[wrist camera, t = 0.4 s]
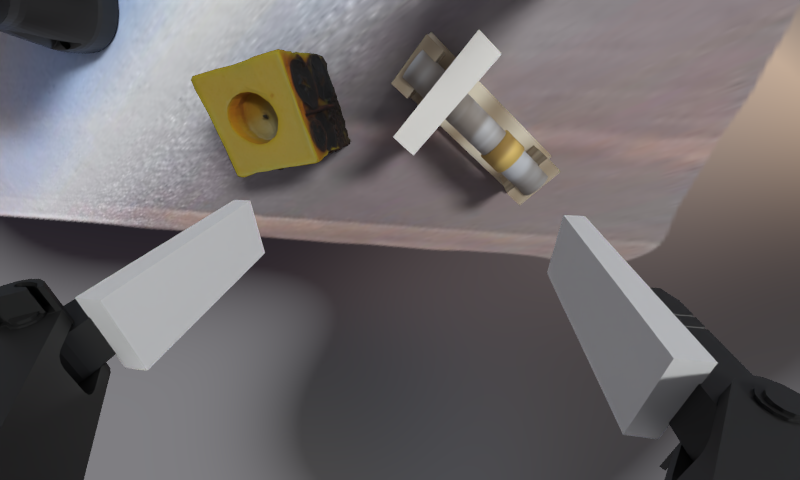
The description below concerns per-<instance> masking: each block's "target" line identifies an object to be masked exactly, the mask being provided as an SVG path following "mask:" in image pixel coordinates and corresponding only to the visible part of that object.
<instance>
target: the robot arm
mask: <svg viewBox="0 0 800 480" xmlns="http://www.w3.org/2000/svg"><path fill="white" fill-rule="evenodd" d="M117 23H118V2H117V0H0V31H1V32H3V33H6V34H9V35H12V36H15V37H18V38H21V39H24V40H27V41H30V42H33V43H36V44H39V45H42V46H45V47H48V48H51V49H54V50H58V51H62V52H71V53H94V52H98V51H100V50H102V49H104V48H105V47H106V46H107V45H108V44H109V43H110V42H111V40H112V38H113V37H114V34H115V31H116V28H117ZM264 253H265V251H264V248H263V245H262V241H261V237H260V234H259V230H258V227H257V223H256V220H255V216H254V212H253V209H252V205H251V202H250V201H248V200H233V201H232V202H230V203H228V204H227V205H225V206H224V207H222V208H220V209H219V210H217V211H215V212H214V213H212V214H210V215H209V216H207V217H206V218H204V219H202V220H201V221H199V222H197V223H196V224H194V225H193V226H191V227H189V228H188V229H186V230H184V231H183V232H181V233H180V234H178V235H176V236H175V237H173V238H171V239H170V240H168V241H167V242H165V243H163V244H161V245H160V246H158V247H157V248H155V249H153V250H152V251H150V252H148V253H147V254H145V255H144V256H142V257H140V258H139V259H137V260H135V261H134V262H132V263H130V264H129V265H127V266H126V267H124V268H122V269H121V270H119V271H117V272H116V273H114V274H113V275H111V276H109V277H108V278H106V279H104V280H103V281H101V282H99V283H98V284H96V285H95V286H93V287H92V288H90V289H88V290H86V291H85V292H83V293H82V294H80V295H78V296H77V297H75V299H74V300H73V301H71V302H70V303H68V304H66V305H65V306H63V305H62V304H61V303H60V301H59V300H58V299H57V297H56V296H55V295H54V293H53V292H52V291H51V289H50V288H49V287H48V286H47V284H46V283H45V282H44V281H43V280H41V279H28V280H22V281H17V282H13V283H10V284H7V285H3V286H1V287H0V480H84V476H85V472H86V468H87V464H88V460H89V456H90V452H91V448H92V444H93V440H94V436H95V432H96V428H97V424H98V420H99V416H100V412H101V408H102V404H103V400H104V396H105V392H106V388H107V384H108V380H109V376H110V367H109V366H108V364H107V363H106V362H107V361H108V360H109V359H110V358H111V357H113V356H114V355H115V354H116V356H117V357H118V359H119V360H120V361H121V363H122V364H123V365H124V367H125V368H131V369H138V370H145V371H147V370H148V369H150V368H151V366H153V364H155V363H156V362H157V361H158V360H159V359H160V358H161V357H162V355H163V354H165V353H166V352H167V351H168V349H170V348H171V347H172V345H174V343H175V342H176V341H178V340H179V339H180V337H182V336H183V334H185V333H186V332H187V331H188V330H189V328H190V327H192V325H194V324H195V323H196V322H197V321H198V320H199V319H200V317H201V316H203V315H204V314H205V313H206V312H207V311H208V310H209V309H210V307H211V306H213V305H214V304H215V303H216V302H217V300H218V299H220V297H221V296H222V295H223V294H224V293H225V292H227V290H228V289H229V288H231V286H233V285H234V284H235V283H236V281H238V280H239V279H240V278H241V276H242V275H244V274H245V272H246V271H247V270H248V269H249V268H250V267H251V266H252V265H253V264H254V263H255V262H256V261H257V260H258V259H259V258H260V257H261V256H262V255H263V254H264ZM547 274H548V276H549V278H550V280H551V282H552V284H553V287H554V289H555V291H556V293H557V295H558V297H559V299H560V301H561V304H562V306H563V308H564V310H565V312H566V314H567V316H568V318H569V321H570V323H571V324H572V327H573V329H574V331H575V333H576V335H577V337H578V340H579V342H580V344H581V346H582V348H583V350H584V352H585V354H586V357H587V358H588V361H589V363H590V365H591V367H592V369H593V371H594V373H595V376H596V378H597V380H598V382H599V384H600V386H601V388H602V390H603V392H604V395H605V397H606V399H607V401H608V403H609V405H610V407H611V409H612V412H613V414H614V416H615V418H616V420H617V422H618V424H619V426H620V428H621V430H622V433H623V435H630V436H637V437H645V438H652V439H659V438H660V436H661V435H662V434H663V433H664V431H665V430H666V428H667V427H668V426H669V425H670V426H671V427H672V429H673V431H674V432H675V434H676V435H677V437H678V439H679V440H680V443H679V444H678V445H677V447H676V448H675V449H674V450H673V451H672V452H671V454H670V455H669V456H668V457H667V459H665V461H664V462H663V463H662V464H661V465H660V467H661V468H662V469H664V470H666V469H667V468H668V470H667V473H666V477H665V480H800V394H799V393H797V392H795V391H793V390H792V389H790V388H788V387H786V386H784V385H782V384H780V383H777V382H774V381H772V380H769V379H766V378H763V377H758V376H753V375H752V374H751V373H750V372H749V371H748V370H747V369H746V368H745V367H744V366H743V365H742V364H741V363H740V362H739V361H738V360H737V359H736V358H735V357H734V356H733V355H732V354H731V353H730V352H729V351H728V350H727V349H726V348H725V347H724V345H723V344H722V343H721V342H719V340H718V339H717V338H716V337H714V335H713V334H712V333H711V332H710V331H709V330H706V329H705V326H704V325H703V324H702V323H701V322H700V321H699V320H698V319H697V318H696V317H693V314H692V313H691V312H690V311H689V310H688V309H687V308H686V307H685V306H684V305H683V304H682V303H681V302H680V301H679V300H677V299H676V298H674V297H673V296H671V295H670V294H668V293H667V292H665V291H663V290H662V289H660V288H650V287H649V286H648V285H647V284H646V283H645V282H644V281H643V280H642V279H641V278H640V276H639V275H638V274H637V273H636V272H635V271H634V270H633V269H632V268H631V267H630V265H629V264H628V263H627V262H626V261H625V260H624V259H623V258H622V257H621V255H620V254H619V253H618V252H617V251H616V250H615V249H614V248H613V247H612V246H611V244H610V243H609V242H608V241H607V240H606V239H605V238H604V237H603V236H602V235H601V233H600V232H599V231H598V230H597V229H596V228H595V227H594V226H593V225H592V223H591V222H590V221H589V220H588V219H587V218H586V217H585V216H571V215H564V216H563V219H562V223H561V226H560V230H559V233H558V237H557V240H556V244H555V247H554V251H553V254H552V258H551V261H550V265H549V269H548V272H547Z"/></svg>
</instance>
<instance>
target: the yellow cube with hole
mask: <svg viewBox="0 0 800 480" xmlns="http://www.w3.org/2000/svg"><path fill="white" fill-rule="evenodd" d="M191 81H192V83H193V86H194V88H195V90H196V92H197V94H198V96H199V98H200V99H201V101H202V103H203V105H204V107H205V108H206V110H207V112H208V114H209V116H210V118H211V120H212V122H213V124H214V126H215V128H216V130H217V132H218V135H219V137H220V139H221V141H222V143H223V145H224V147H225V149H226V151H227V153H228V156H229V158H230V160H231V162H232V165H233V167H234V169H235V171H236V173H237V176H239V177H247V176H250V175H252V174H255V173H257V172H265V171H270V170H274V169H278V170H282V169H284V168H286V167H293V166H302V165H307V164H314V163H317V162H320V161H321V160H322V159H323V158H324V157H325V156H326V155H328V153H333V152H334V151H335V152H336V151H337V150H340V149H341V148H342V147H345V146H348V144H350V139H349V138H348V133H347V130H346V128H345V121H344V118H343V116H342V112H341V108H340V105H339V103H338V101H337V95H336V93H335V90H334V87H333V86H332V83H331V80H330V77H329V74H328V71H327V63H326V62H325V60H324V58H323V57H322V56H320V55H318V54H311V53H298V52H295V53H292V52H291V51H284V50H279V49H277V50H274V51H270V52H267V53H264V54H261V55H257V56H254V57H252V58H250V59H248V60H245V61H243V62H240V63H237V64H234V65H231V66H227V67H223V68H219V69H214V70H212V71H209V72H205V73H202V74H198V75H195V76H193V77H192V79H191Z"/></svg>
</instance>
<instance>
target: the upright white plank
mask: <svg viewBox="0 0 800 480" xmlns="http://www.w3.org/2000/svg"><path fill="white" fill-rule="evenodd" d="M500 56H501V53H500V51H499V50H498V49H497V48H496V47H495V46H494V45H493V44H492V43H491V42H490V41H489V40H488V38H487V37H486V36H485V35H484V34H483V33H482V32H481V31H480V30H478V31H477V32H476V34H475V35H474V36H473V37H472V39H471V40H470V41H469V42H468V44H467V45H466V46H465V47H464V49H463V50H462V51H461V52H460V54H459V55H458V56H457V57H456V59H455V60H454V61H453V62H452V64H451V65H450V66H449V67H448V69H447V70H446V71H445V72H444V74H443V75H442V76H441V78H440V79H439V80H438V81H437V83H436V84H435V85H434V86H433V88H432V89H431V90H430V91H429V93H428V94H427V95H426V96H425V98H424V99H423V100H422V101H421V103H420V104H419V105H418V106H417V108H416V109H415V110H414V111H413V113H412V114H411V115H410V116H409V118H408V119H407V120H406V122H405V123H404V124H403V125H402V127H401V128H400V129H399V130H398V132H397V133H396V134H395V135H394V137H393V138H394V139H396V140H397V141H398V142H399V143H400V144H401V145H402V146H403V147H404V148H406V149H407V150H408V151H409V152H410V153H411V154H412V155H413V156H414V155H415V153H416V152H417V151H418V150H419V149H420V148H421V146H422V145H423V144H424V143H425V142H426V141H427V140H428V138H429V137H430V136H431V135H432V134H433V133H434V131H435V130H436V129H437V128H438V127H439V126H440V125H441V123H442V122H443V121H444V120H445V119H446V118H447V117H448V115H449V114H450V113H451V112H452V111H453V110H454V108H455V107H456V106H457V105H458V104H459V103H460V102H461V100H462V99H463V98H464V97H465V96H466V95H467V93H468V92H469V91H470V90H471V89H472V88H473V87H474V85H475V84H476V83H477V82H478V81H479V80H480V79H481V77H482V76H483V75H484V74H485V73H486V72H487V70H488V69H489V68H490V67H491V66H492V65H493V64H494V62H495V61H496V60H497V59H498V58H499V57H500Z"/></svg>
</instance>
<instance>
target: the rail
mask: <svg viewBox="0 0 800 480" xmlns="http://www.w3.org/2000/svg"><path fill="white" fill-rule="evenodd" d="M455 59H456V57H455V56H454V55H453V54H452V53H451V52H450V51H449V50H448V49H447V48H446V47H445V46H444V45H443V44H442V43H441V41H440V40H439V39H438V38H437V37H436V36H435V35H434V34H433V33H432V32H430V34H429V35H427V34H426V35H425V37H424V38H423V40H422V41H421V42H420V44H419V45H418V47H417V48H416V49H415V51H414V52H413V54H412V55H411V56H410V58H409V59H408V61H407V62H406V63H405V65H404V66H403V68H402V69H401V70H400V72H399V73H398V75H397V76H396V77H395V79H394V80H393V82H392V83H391V84H392V85H393V86H394V87H395V88H396V89H397V90H398V91H400V92H401V93H402V94H403V95H404V96H405V97H406V98H409V97H411V98H412V99H413V100H414V101H415V102H416V103H417V104H418V105H419V104H420V103H421V101H422V100H423V99H424V98H425V96H426V95H427V94H428V93H429V91H430V90H431V89H432V88H433V86H434V85H435V84H436V83H437V81H438V80H439V79H440V78H441V76H442V75H443V74H444V72H445V71H446V70H447V69H448V67H449V66H450V65H451V64H452V62H453V61H454V60H455ZM440 126H441V127H442V128H443V129H444V130H445V131H446V132H447V133H448V134H449V135H450V136H451V137H453V138H454V139H455V140H456V141H457V142H458V143H459V144H460V145H461V146H462V147H463V148H464V149H465V150H466V151H467V152H468V153H469V154H470V155H471V156H472V157H474V158H475V159H476V160H477V161H478V162H479V163H480V164H481V165H482V166H483V167H484V168H485V169H486V170H487V171H488V172H489V173H490V174H491V175H492V176H493V177H495V178H496V179H497V180H498V181H499V182H500V183H501V184H502V185H503V186H504V188H505V190H506V192H507V194H508V195H509V196H510V197H511V198H512V199H513V200H514V201H516V202H517V203H518V204H519V205H521V204H522V203H523V202H524V201H526V200H527V199H528V198H529V197H530V196H532V195H533V194H534V193H535V192H537V191H538V190H539V189H540V188H541V187H543V186H544V185H545V184H546V183H547V182H549V181H550V180H551V179H552V178H554V177H555V176H556V175H557V174H558V173H560V172H561V171H560V170H559V169H558V168H557V167H556V166H555V165H554V164H553V163H552V162H551V161H550V160H549V159H550V158H551V157H552V156H551V155H550V154H549V153H548V152H547V151H546V150H545V149H544V148H543V147H542V146H541V145H540V144H539V143H538V142H537V141H536V140H535V139H534V138H533V137H532V136H531V135H530V134H529V132H528V131H527V130H526V129H525V128H524V127H523V126H522V125H521V124H520V123H519V122H518V121H517V120H516V119H515V118H514V117H513V116H512V115H511V114H510V113H509V112H508V111H507V110H506V109H505V108H504V107H503V106H502V105H501V104H500V102H499V101H498V100H497V99H496V98H495V97H494V96H493V95H492V94H491V93H490V92H489V91H488V90H487V89H486V88H485V87H484V86H483V85H482V84H481V83H480V82H479V81H478V82H477V83H476V84H475V85H474V87H473V88H472V89H471V90H470V91H469V92H468V93H467V95H466V96H465V97H464V98H463V99H462V100H461V102H460V103H459V104H458V105H457V106H456V107H455V108H454V110H453V111H452V112H451V113H450V114H449V115H448V117H447V118H446V119H445V120H444V121H443V122H442V123H441V125H440Z"/></svg>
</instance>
